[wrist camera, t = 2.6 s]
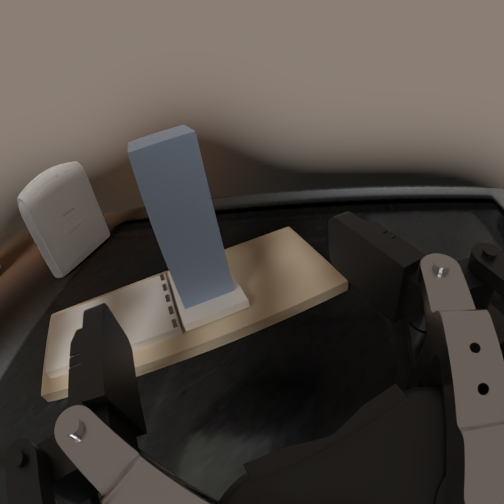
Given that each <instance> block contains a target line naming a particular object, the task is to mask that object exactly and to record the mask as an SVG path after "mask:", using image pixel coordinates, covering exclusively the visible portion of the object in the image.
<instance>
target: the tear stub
mask: <svg viewBox="0 0 504 504" xmlns="http://www.w3.org/2000/svg"><path fill="white" fill-rule="evenodd" d="M128 155H129V159H130V162H131V165H132V169H133V172H134V175H135V178H136V181H137V184H138V187H139V190H140V193H141V196H142V199H143V202H144V205H145V208H146V211H147V213H148V216H149V219H150V222H151V225H152V227H153V230H154V233H155V235H156V238H157V241H158V243H159V246H160V249H161V251H162V254H163V256H164V259H165V262H166V264H167V267H168V269H169V272H168V276H169V279H170V283H171V286H172V290H173V293H174V297H175V300H176V303H177V307H178V310H179V313H180V316H181V319H182V323H183V326H184V328H185V330H186V331H189V330H191V329H194V328H197V327H199V326H202V325H205V324H207V323H210V322H212V321H215V320H217V319H220V318H223V317H225V316H228V315H230V314H233V313H235V312H238V311H240V310H243V309H245V308H248V307H250V305H249V301H248V299H247V297H246V295H245V294H244V292H243V290H242V289H241V287H240V286H239V284H238V282H237V281H236V279H235V277H234V276H233V274H232V272H231V271H230V269H229V266H228V262H227V259H226V255H225V251H224V247H223V243H222V239H221V235H220V231H219V227H218V223H217V219H216V215H215V211H214V207H213V203H212V199H211V195H210V191H209V187H208V183H207V179H206V175H205V171H204V166H203V163H202V158H201V153H200V149H199V145H198V141H197V136H196V132H195V131H194V130H192V129H190V128H189V127H187V126H185V125H181V126H177V127H174V128H170V129H167V130H164V131H161V132H158V133H154V134H151V135H149V136H145V137H142V138H139V139H136V140H134V141H131V142H128Z"/></svg>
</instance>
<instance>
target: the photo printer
mask: <svg viewBox="0 0 504 504" xmlns="http://www.w3.org/2000/svg"><path fill="white" fill-rule="evenodd" d="M17 203H18V207H19V210H20V213H21V216H22V218H23V220H24V222H25V224H26V226H27V228H28V230H29V232H30V234H31V236H32V238H33V240H34V242H35V244H36V246H37V247H38V249H39V251H40V253H41V255H42V256H43V258H44V260H45V262H46V263H47V265H48V267H49V269H50V270H51V272H52V274H53V275H54V277H56V278H63V277H64V276H66V275H67V274H68V273H69V272H71V271H72V270H73V269H74V268H75V267H76V266H77V265H78V264H79V263H81V262H82V261H83V260H84V259H85V258H86V257H87V256H88V255H90V254H91V253H92V252H93V251H94V250H95V249H96V248H97V247H98V246H100V245H101V244H102V243H103V242H104V241H105V240H106V239H107V238H108V237H109V236H110V232H109V229H108V227H107V224H106V222H105V220H104V217H103V215H102V213H101V210H100V208H99V205H98V203H97V201H96V198H95V195H94V193H93V190H92V188H91V185H90V183H89V180H88V177H87V175H86V172H85V170H84V168H83V167H82V166H81V164H79V163H78V162H77V161H75V162H68V163H63V164H59V165H56V166H54V167H51V168H49V169H47V170H46V171H44V172H42V173H41V174H39V175H38V176H37V177H35V178H34V179H33V180H32V181H31V182H30V183H29V184H28V185H27V186H26V187H25V188H24V189H23V191H22V192H21V193H20V195H19V196H18V198H17Z"/></svg>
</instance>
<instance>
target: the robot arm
mask: <svg viewBox="0 0 504 504" xmlns="http://www.w3.org/2000/svg"><path fill="white" fill-rule="evenodd" d="M328 236H329V256H330V260H331V263H332V265H333V266H334V268H335V269H336V270H337V271H338V272H339V273H340V274H341V275H342V276H343V277H345V278H346V279H347V280H348V281H349V282H350V283H351V284H352V285H353V286H354V287H355V288H356V289H357V290H359V291H360V292H361V293H362V294H363V295H364V296H365V297H366V298H367V299H368V300H369V301H370V302H371V303H372V304H373V305H374V306H376V307H377V308H378V309H379V310H380V311H381V312H382V313H383V314H384V315H385V316H386V317H387V318H388V319H389V320H390V321H391V322H392V323H395V322H396V321H398V320H399V319H401V318H402V317H405V318H406V319H407V323H406V330H407V340H408V351H409V365H410V374H409V380H408V385H407V390H403V391H402V390H401V389H400V388H399V387H398V386H397V384H394V385H393V386H391V387H390V388H388V389H387V390H386V391H384V392H383V393H381V394H380V395H378V396H376V397H375V398H373V399H372V400H370V401H369V402H367V403H366V404H364V405H363V406H362V407H361V408H360V409H359V410H358V411H357V412H356V413H355V414H354V415H353V416H352V417H351V418H350V419H349V420H348V421H347V422H346V423H345V424H344V425H343V426H342V427H341V428H339V429H338V430H337V431H336V432H335V433H334V434H332V435H331V436H328V437H325V438H321V439H317V440H313V441H309V442H305V443H301V444H296V445H292V446H287V447H284V448H282V449H279V450H277V451H275V452H272V453H270V454H268V455H265V456H263V457H261V458H258V459H256V460H253V461H251V462H248V463H245V464H243V465H244V467H245V469H246V471H247V473H246V474H244V475H243V476H241V477H240V478H239V479H238V480H237V481H235V482H234V483H233V484H232V485H231V486H230V487H229V488H228V489H227V491H226V492H225V493H224V495H223V496H222V498H221V499H220V501H218V500H216V499H214V498H213V497H211V496H209V495H207V494H206V493H204V492H202V491H201V490H199V489H197V488H195V487H194V486H192V485H190V484H189V483H187V482H185V481H184V480H182V479H181V478H179V477H178V476H176V475H175V474H173V473H172V472H170V471H169V470H168V469H166V468H165V467H163V466H162V465H161V464H159V463H158V462H156V461H155V460H154V459H152V458H151V457H150V456H148V455H147V454H146V453H145V452H143V451H142V450H141V449H139V448H138V444H137V439H136V437H137V436H140V435H144V434H147V431H146V426H145V422H144V417H143V412H142V407H141V402H140V396H139V391H138V385H137V379H136V373H135V366H134V359H133V352H132V347H131V344H130V342H129V339H128V337H127V335H126V334H125V332H124V331H123V329H122V328H121V326H120V324H119V323H118V321H117V320H116V318H115V317H114V315H113V313H112V312H111V310H110V309H109V307H108V306H107V305H106V304H105V303H102V304H100V305H97V306H95V307H92V308H89V309H87V310H85V311H84V313H83V325H82V328H80V329H78V330H76V332H75V334H74V337H73V339H72V341H71V344H70V358H69V367H70V369H69V377H68V408H67V409H66V410H65V411H64V412H62V414H61V415H60V416H59V418H58V419H57V422H56V425H55V431H54V432H55V434H54V435H52V436H51V437H49V438H47V439H46V440H44V441H43V442H41V443H39V444H38V445H34V444H33V443H31V442H30V441H28V440H26V439H18V440H16V441H14V442H13V443H12V444H11V445H10V447H9V448H8V450H7V453H6V458H5V469H6V485H7V495H8V504H56V503H55V499H56V500H57V501H58V504H100V501H99V497H98V493H99V492H100V493H101V494H102V497H101V502H102V504H504V315H503V314H502V313H501V312H499V311H498V310H497V309H496V308H495V307H494V306H493V305H492V304H491V303H490V302H491V300H492V297H493V295H494V292H495V291H496V292H497V293H499V294H500V295H501V296H502V297H503V298H504V252H503V251H502V250H500V249H499V248H497V247H496V246H494V245H491V244H488V243H478V244H475V245H474V246H473V248H472V252H471V255H470V258H468V259H464V260H460V261H456V260H454V259H453V258H451V257H449V256H447V255H444V254H438V253H434V254H429V255H426V256H425V255H424V254H422V253H421V252H419V251H418V250H417V249H415V248H414V247H412V246H411V245H409V244H408V243H406V242H405V241H403V240H402V239H400V238H399V237H396V235H394V234H393V233H391V232H388V230H387V229H385V228H383V227H382V226H380V225H379V224H377V223H374V222H370V221H367V220H362V219H361V218H359V217H358V216H356V215H355V214H353V213H351V212H345V213H342V214H339V215H337V216H334V217H331V218H330V219H329V221H328Z"/></svg>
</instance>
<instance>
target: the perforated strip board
mask: <svg viewBox="0 0 504 504" xmlns="http://www.w3.org/2000/svg"><path fill="white" fill-rule="evenodd" d="M224 251H225V255H226V259H227V262H228V266H229V269H230V271H231V272H232V274H233V276H234V277H235V279H236V281H237V282H238V284H239V286H240V287H241V289H242V290H243V292H244V294H245V295H246V297H247V299H248V301H249V305H250V307H248V308H245V309H243V310H240V311H238V312H235V313H233V314H230V315H228V316H225V317H223V318H220V319H217V320H215V321H212V322H210V323H207V324H205V325H202V326H199V327H197V328H194V329H191V330H189V331H186V330H185V328H184V326H183V323H182V319H181V316H180V313H179V310H178V307H177V303H176V300H175V297H174V293H173V290H172V286H171V283H170V279H169V276H168V272H169V270H168V271H165V272H162V273H160V274H157V275H154V276H152V277H149V278H146V279H144V280H141V281H138V282H136V283H133V284H130V285H128V286H125V287H122V288H120V289H117V290H114V291H112V292H109V293H106V294H104V295H101V296H98V297H96V298H93V299H91V300H88V301H85V302H83V303H80V304H77V305H75V306H72V307H70V308H67V309H64V310H62V311H59V312H57V313H54V314H52V315H51V320H50V325H49V331H48V337H47V344H46V351H45V359H44V368H43V378H42V390H41V396H42V397H43V398H44V399H46V400H47V401H48V402H51V401H55V400H59V399H63V398H67V397H68V377H69V369H70V367H69V358H70V344H71V341H72V339H73V337H74V334H75V332H76V330H78V329H80V328H82V325H83V313H84V311H85V310H87V309H89V308H92V307H95V306H97V305H100V304H102V303H105V304H106V305H107V306H108V307H109V309H110V310H111V312H112V313H113V315H114V317H115V318H116V320H117V321H118V323H119V324H120V326H121V328H122V329H123V331H124V332H125V334H126V335H127V337H128V339H129V342H130V344H131V347H132V352H133V359H134V366H135V373H136V377H137V376H140V375H143V374H146V373H149V372H152V371H155V370H158V369H161V368H164V367H166V366H169V365H172V364H175V363H178V362H180V361H183V360H186V359H189V358H191V357H194V356H197V355H199V354H202V353H205V352H207V351H210V350H212V349H215V348H218V347H220V346H223V345H225V344H228V343H230V342H233V341H235V340H238V339H240V338H243V337H245V336H247V335H250V334H252V333H255V332H257V331H259V330H262V329H264V328H266V327H269V326H271V325H273V324H276V323H278V322H280V321H283V320H285V319H287V318H289V317H292V316H294V315H296V314H298V313H300V312H303V311H305V310H307V309H309V308H311V307H313V306H316V305H318V304H320V303H322V302H324V301H326V300H328V299H330V298H332V297H335V296H337V295H339V294H341V293H343V292H345V291H347V290H348V280H347V279H346V278H345V277H343V276H342V275H341V274H340V273H339V272H338V271H337V270H336V269H335V268H334V267H333V266H332V265H331V264H330V263H329V262H328V261H327V260H325V259H324V258H323V257H322V256H321V255H320V254H319V253H318V252H317V251H316V250H314V249H313V248H312V247H311V246H310V245H309V244H308V243H307V242H306V241H305V240H303V239H302V238H301V237H300V236H299V235H298V234H297V233H296V232H294V231H293V230H292V229H291V228H290V227H289V226H288V227H286V228H283V229H280V230H277V231H274V232H272V233H269V234H266V235H263V236H261V237H258V238H255V239H252V240H249V241H247V242H244V243H241V244H238V245H236V246H233V247H230V248H227V249H225V250H224Z"/></svg>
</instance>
